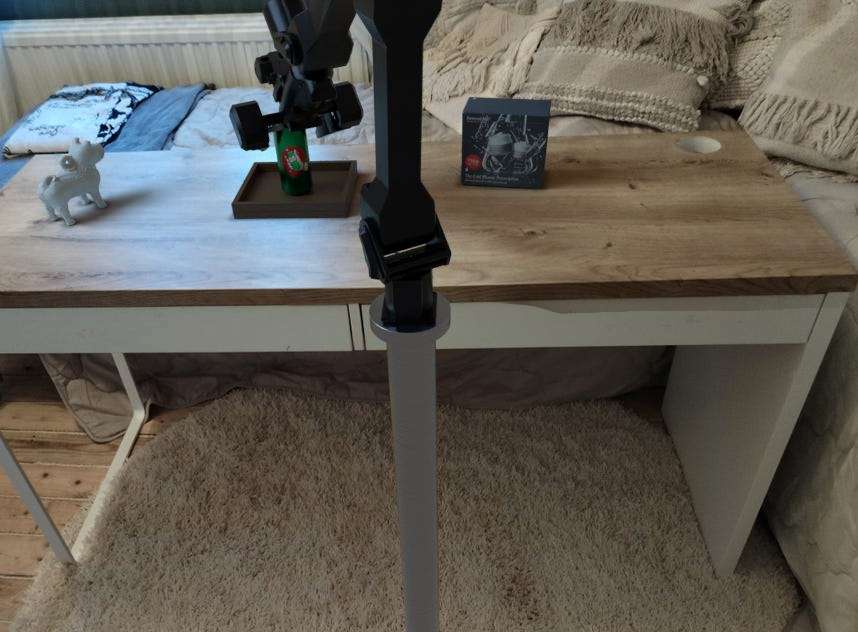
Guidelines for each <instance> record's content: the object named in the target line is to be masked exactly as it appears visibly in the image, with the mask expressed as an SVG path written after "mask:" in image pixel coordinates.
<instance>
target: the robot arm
mask: <svg viewBox="0 0 858 632" xmlns="http://www.w3.org/2000/svg"><path fill="white" fill-rule="evenodd" d="M443 2H444V1H443V0H311V1H310V4H309V6H307V3H306V1H305V0H269V1H268V2H267V3H266V4H265V5H264V6H263V7H262V16H263V18H264V21H265V24H266V26H267V29H268V31H269V34H270V36H271V40H272V43H273V48H274V49H275V50H273V51H269V52H268V53H267V54H263V55H260V56H256V57H255V60H254V64H253V65H254V66H253V67H254V74H255V76H256V78H257V81H258V82H259V84H261V85H264V84H268V86H270V85H271V86H272V87H273V90H272V97H273V101H274V103H276V104H277V103H278V111H276V112H272V113H267V114H263V112H262V110H261V107H260V104H259V102H258V101H257V100H255V99H253V100H250V101H245V102H239V103H234V104H231V107H230V108H229V113H228V117H229V119H230V122H231V125H232V128H233V130H234V134H235V136H236V140H237V142H238V144H239V147H240V149H241V150H242V151H245V152H248V151H251V152H253V151H260V152H265V151H267V150H268V149H269V148H270V147H271V146H270V141H271V140H270V139H271V138H270V134H272V133H273V132H276V131H280V130H285V129H289V132H290V133H292V132H296V131H301V130H305V129H306V130H309V129H313V128H315V131H314V133H315V136H316V138H317V139H322V138H325V137H328V136H330V135H333V134H334V135H335V134H337V133H340V132H343V131H345V130H349V129H351V128H352V127H358V126H360V124H361V123H362V120H363V118H364V115H365V114H364V113H365V112H364V109H363V105H362V103H361V100H360V97H359V95H358V92H357V89H356V87H355V85H354V84H353V83H351V82H350V81H348V80H346V81H340V82H335V83H334V81H333V79H334V73H335V71H334V69H338V68H343V67H347V65H348V64H349V62H350V59H351V56H352V54H353V51H354V45H355V43H354V40H353V36H352V33H351V27H352V24H353V22H354V20H355V18H356V16H358V18H359V19H360V21H361V23H362V24H363V25H364V27H365V29H366V30H367V32H368V33H369V35H370V37H371V46H372V47H371V48H372V52H371V53H372V82H373V83H372V84H373V111H374V112H373V118H374V150H375V151H374V152H375V153H374V154H375V155H374V157H375V176H374V177H373V179H372V181H369V182H365V183H362V184H361V185H360V189H359V199H360V212H359V216H360V217H361V219H360V221H359V223H358V238H359V240H360V243H361V247H362V252H363V256H364V262H365V264H366V266H367V268H368V269H367V270H368V277H369V279H371V280H377V281H380V283H381V284H383V285H384V293H385V295H384V301H383V308H382V315H381V323H382V324H384V325H433V324H435V323H436V310H437V292H438V291H436V290H434V273H433V270H434V269H437V268H441V267H446V266H449V265H450V262H451V258H452V255H453V254H452V253H453V252H452V250H451V247H450V244H449V242H448V239H447V237H446V234H445V232H444V230H443V227H442V223H441V222H440V219H439V216H438V213H437V211H436V201H435V199H434V198H433V195H431V193H430V192H429V191H428V189H427V188H426V186H425V184H424V183H423V181H422V145H423V144H422V141H423V96H424V95H423V92H424V90H423V89H424V87H423V85H424V83H423V82H424V45H425V40H426V39H427V37H428V35H429V33H430V32H431V29H432V28H433V26H434V24H435V23H436V21H437V19H438V17H439V15H440V14H441V12H442V10H443V9H442V8H443ZM284 123H285V124H284ZM273 125H274V126H273ZM433 290H434V291H433ZM435 291H436V292H435Z"/></svg>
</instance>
